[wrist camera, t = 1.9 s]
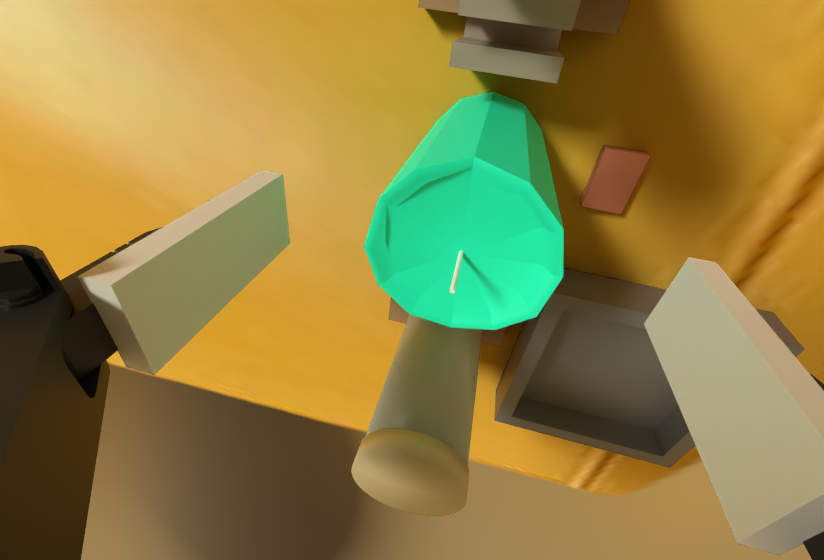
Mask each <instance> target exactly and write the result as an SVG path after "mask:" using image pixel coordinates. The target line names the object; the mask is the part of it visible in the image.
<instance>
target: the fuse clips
mask: <svg viewBox="0 0 824 560" xmlns="http://www.w3.org/2000/svg"><path fill="white" fill-rule="evenodd" d="M629 2H630V0H419V5H418V8H425V9H432V10H439V11H447V12H454V13H458V15H460V16H467V18H466V25H465V31H464V37H462V38H459V39H457V40H455V41H453V43H452V50H451V56H450V63H449V67H454V68H461V69H467V70H474V71H480V72H486V73H493V74H499V75H505V76H512V77H518V78H525V79H531V80H537V81H544V82H550V83H556V84H557V82H558V79H559V75H560V72H561V69H562V66H563V63H564V59H565V58H564V57H563V56H562V55H561V54H560V53H559V52H558V51H557V47H558V44H559V41H560V37H561V34H562V31H563V30H568V31H572V29H576V30H583V31H591V32H598V33H605V34H612V35H617V34H618V31H619V29H620V26H621V23H622V21H623V18H624V15H625V13H626V10H627V7H628V5H629ZM649 158H650V155H649V154H648V153H647V152H642V151H636V150H631V149H625V148H619V147H613V146H607V145H603V148H602V150H601V153H600V155H599V157H598V160H597V162H596V164H595V167H594V169H593V172H592V174H591V176H590V179H589V181H588V183H587V186H586V188H585V190H584V193H583V195H582V198H581V200H580V204H581V207H586V208H592V209H597V210H602V211H607V212H612V213H617V214H621V213H622V211H623V209H624V207H625V205H626V204H627V202H628V200H629V198H630V196H631V194H632V192H633V190H634V188H635V186H636V184H637V182H638V180H639V178H640V176H641V174H642V172H643V170H644V168H645V166H646V164H647V162H648V160H649ZM408 317H409V313H408V312H407V311H405V310H404V309H403V308H402V307H401V306H400V305H399V304H398V303H397V302H396V301H395V300H394V299H393V298H392V297H391V300H390V311H389V320H393V321H397V322H401V323H405V324H406V323H407V320H408ZM506 329H507V326H506V327H503V328H500V329H497V330H485V329H482V338H481V342H483V343H487V344H491V345H495V346H499V347H500V345H501V342H502V340H503V337H504V334H505V332H506Z"/></svg>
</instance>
